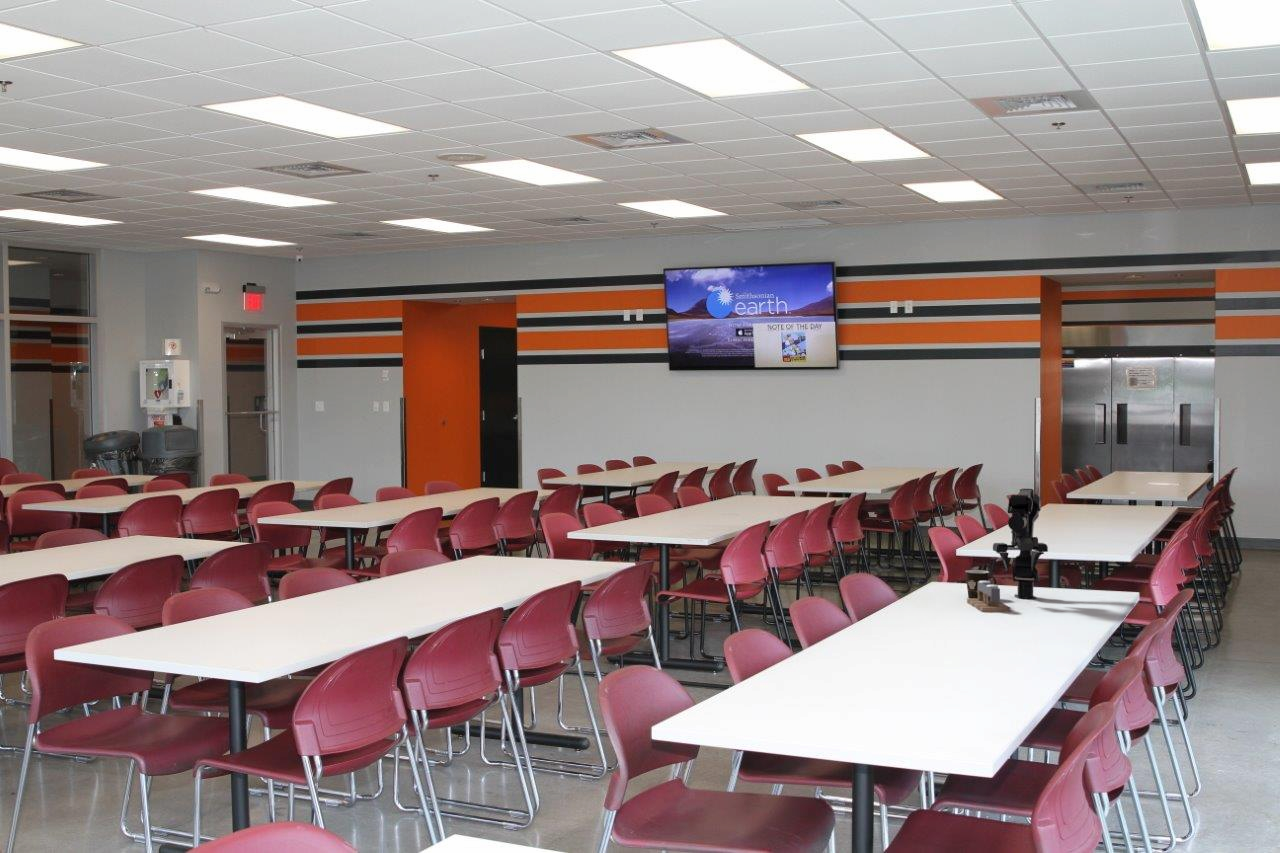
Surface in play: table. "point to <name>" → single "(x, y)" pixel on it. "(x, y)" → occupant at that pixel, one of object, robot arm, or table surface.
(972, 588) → the coffee mug
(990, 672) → the table surface
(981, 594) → the display stand
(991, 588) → the grey bar with knobs
